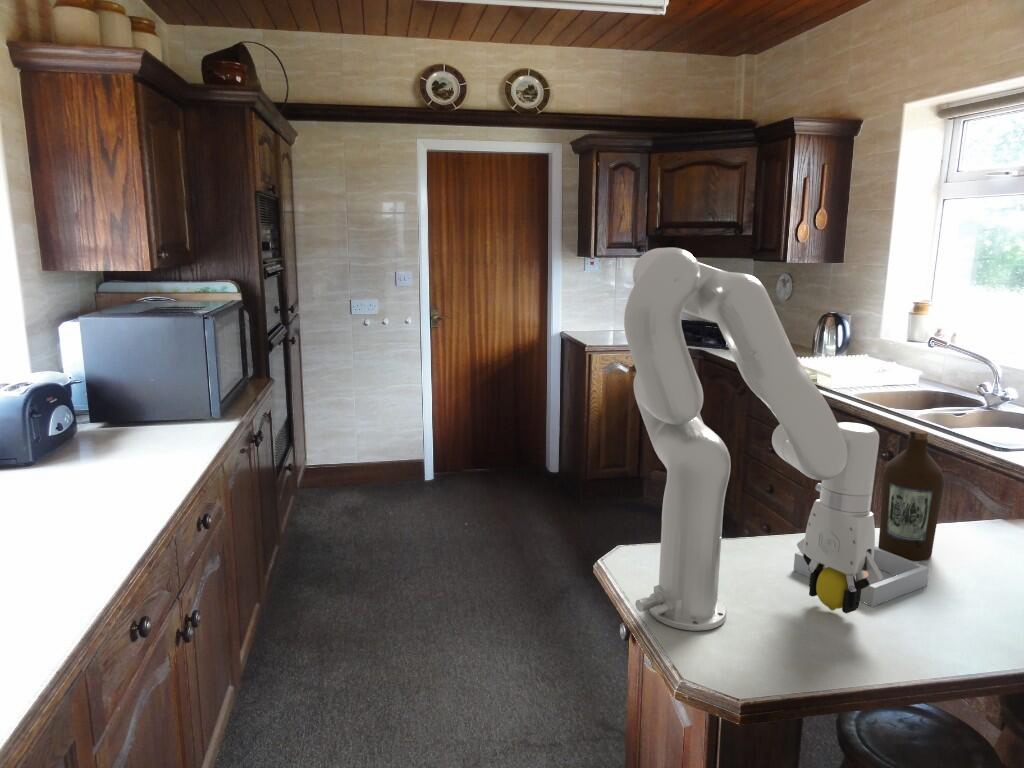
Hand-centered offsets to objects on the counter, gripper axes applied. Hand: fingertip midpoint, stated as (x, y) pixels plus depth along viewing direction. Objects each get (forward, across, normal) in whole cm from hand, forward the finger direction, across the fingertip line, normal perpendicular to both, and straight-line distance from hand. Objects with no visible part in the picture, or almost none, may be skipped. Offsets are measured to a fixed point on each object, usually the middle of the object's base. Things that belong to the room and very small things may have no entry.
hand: (832, 601), depth 117 cm
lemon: (+2, 0, 0) cm, 2 cm away
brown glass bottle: (+1, -9, +35) cm, 36 cm away
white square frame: (+2, -6, +16) cm, 17 cm away
